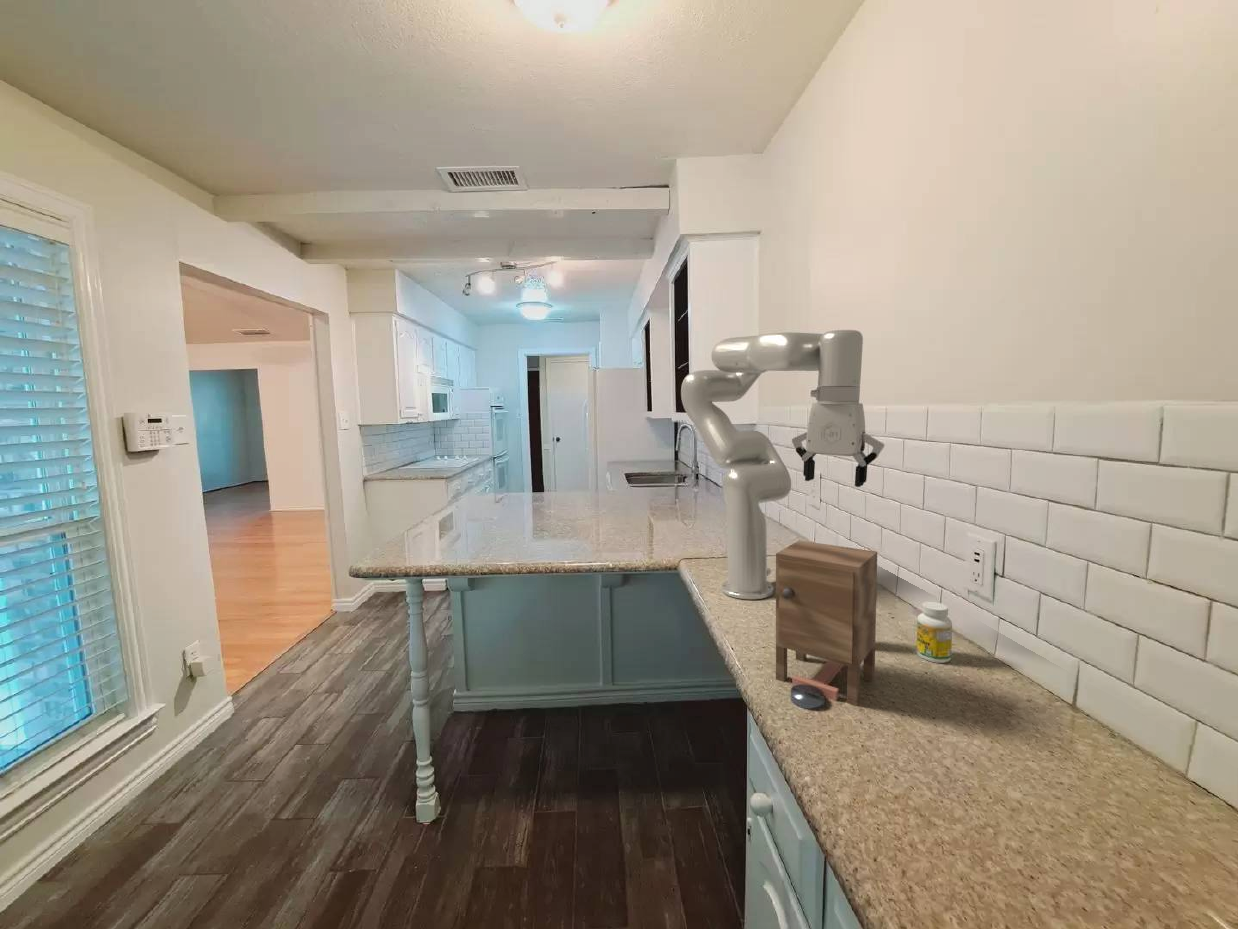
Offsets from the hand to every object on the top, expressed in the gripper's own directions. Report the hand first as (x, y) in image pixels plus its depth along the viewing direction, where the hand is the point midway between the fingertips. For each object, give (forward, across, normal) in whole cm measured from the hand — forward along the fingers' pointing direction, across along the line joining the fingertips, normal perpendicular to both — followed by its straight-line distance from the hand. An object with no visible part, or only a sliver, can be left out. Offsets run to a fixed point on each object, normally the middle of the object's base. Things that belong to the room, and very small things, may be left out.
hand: (833, 482), depth 102 cm
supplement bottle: (+30, +20, -1) cm, 36 cm away
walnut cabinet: (+30, +7, -20) cm, 37 cm away
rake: (+30, +7, -14) cm, 34 cm away
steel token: (+30, +7, -28) cm, 42 cm away
